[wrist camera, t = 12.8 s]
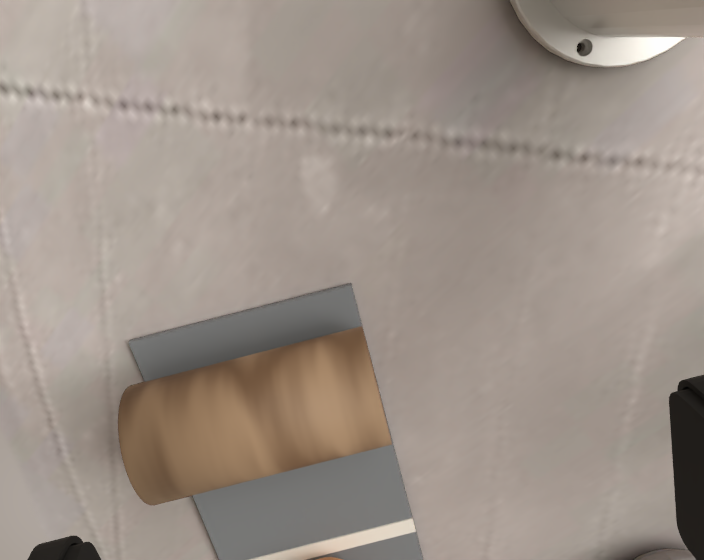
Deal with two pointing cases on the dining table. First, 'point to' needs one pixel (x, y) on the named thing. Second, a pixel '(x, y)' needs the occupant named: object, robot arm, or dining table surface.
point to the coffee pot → (667, 555)
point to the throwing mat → (303, 483)
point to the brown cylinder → (251, 417)
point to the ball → (328, 558)
